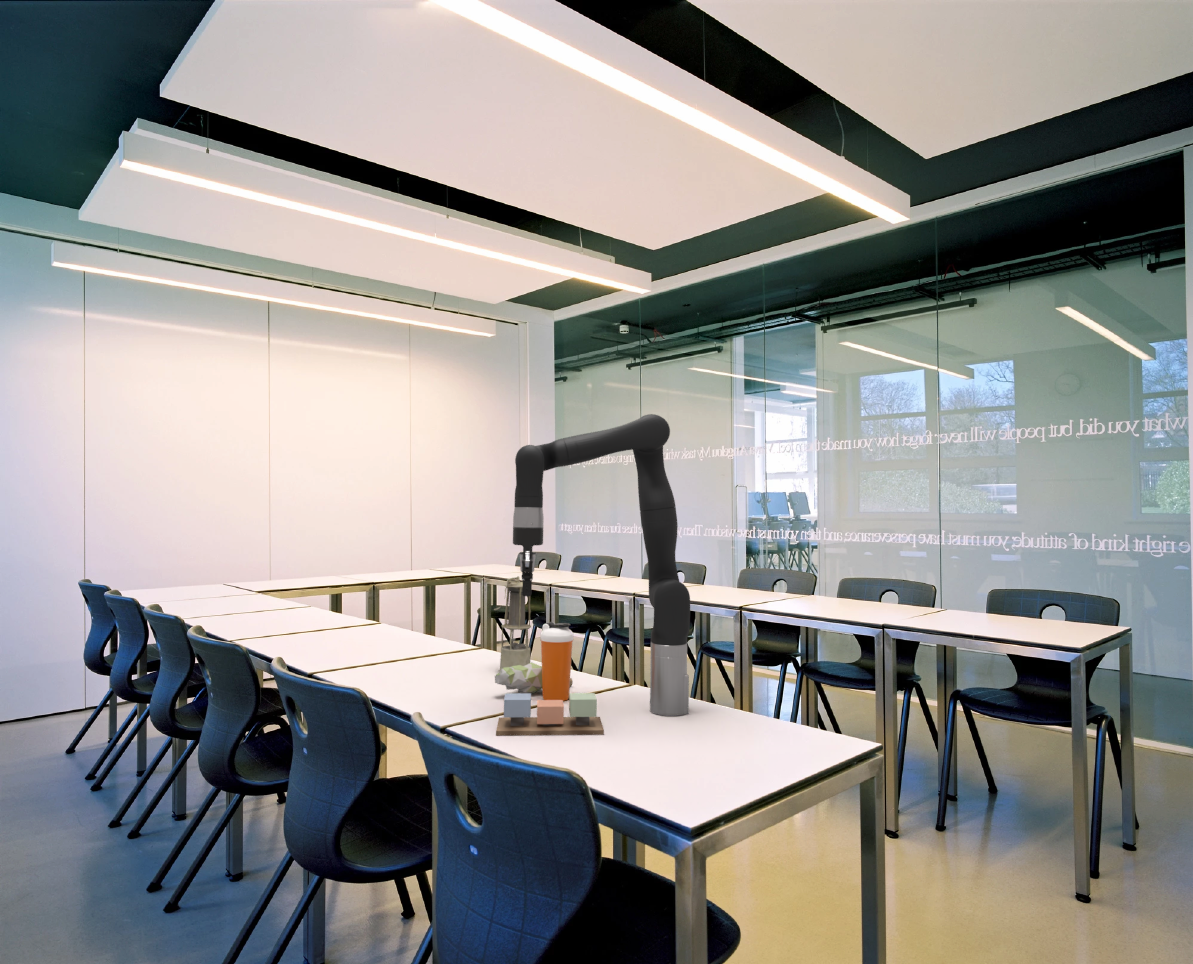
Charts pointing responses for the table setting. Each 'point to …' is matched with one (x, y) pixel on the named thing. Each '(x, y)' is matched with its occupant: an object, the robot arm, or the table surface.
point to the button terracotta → (550, 712)
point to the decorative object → (522, 678)
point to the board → (549, 726)
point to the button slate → (517, 705)
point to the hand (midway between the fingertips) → (526, 595)
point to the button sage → (582, 705)
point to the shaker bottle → (556, 660)
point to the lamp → (515, 626)
